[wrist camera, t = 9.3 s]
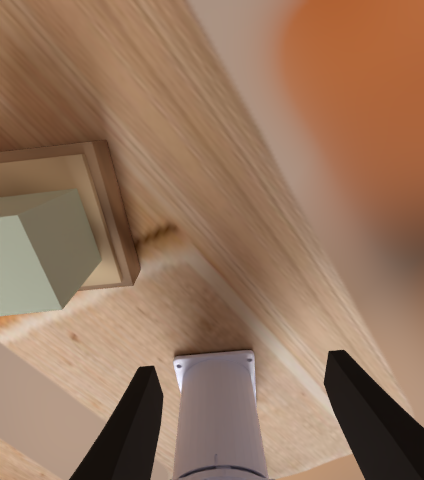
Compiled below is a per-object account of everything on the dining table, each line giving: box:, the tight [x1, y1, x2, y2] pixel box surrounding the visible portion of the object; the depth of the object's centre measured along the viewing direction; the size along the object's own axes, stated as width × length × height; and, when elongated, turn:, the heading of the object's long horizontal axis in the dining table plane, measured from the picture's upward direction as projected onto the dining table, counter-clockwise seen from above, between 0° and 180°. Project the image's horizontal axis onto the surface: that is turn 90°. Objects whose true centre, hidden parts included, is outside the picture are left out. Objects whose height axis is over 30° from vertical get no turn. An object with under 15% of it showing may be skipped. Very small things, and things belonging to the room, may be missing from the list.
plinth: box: [0, 140, 140, 291], centre depth 17 cm, size 10×8×3 cm
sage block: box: [0, 188, 102, 316], centre depth 13 cm, size 5×5×5 cm
